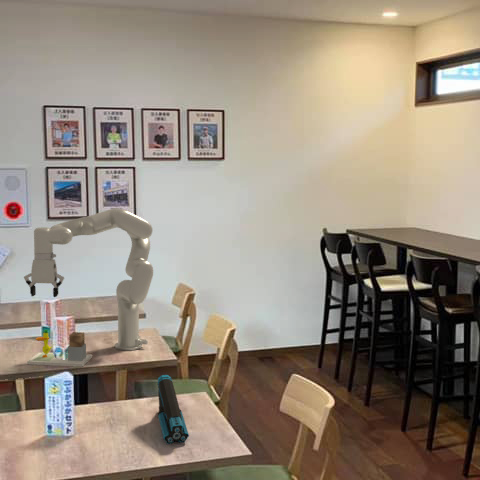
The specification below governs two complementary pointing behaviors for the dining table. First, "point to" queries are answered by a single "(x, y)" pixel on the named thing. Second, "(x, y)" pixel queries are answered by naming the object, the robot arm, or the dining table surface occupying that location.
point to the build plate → (56, 360)
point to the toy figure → (45, 343)
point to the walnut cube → (76, 339)
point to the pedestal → (77, 353)
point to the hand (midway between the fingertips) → (44, 296)
